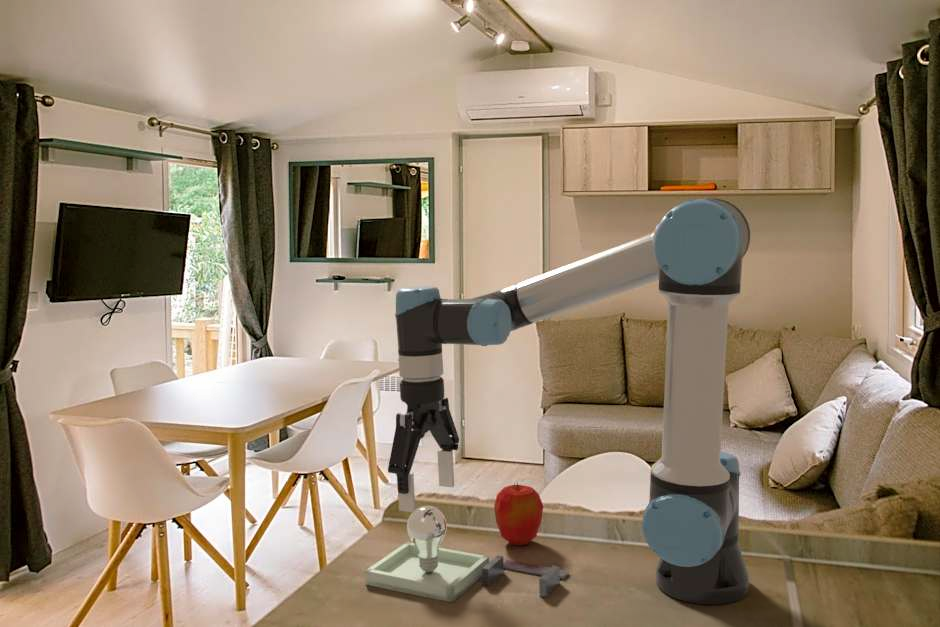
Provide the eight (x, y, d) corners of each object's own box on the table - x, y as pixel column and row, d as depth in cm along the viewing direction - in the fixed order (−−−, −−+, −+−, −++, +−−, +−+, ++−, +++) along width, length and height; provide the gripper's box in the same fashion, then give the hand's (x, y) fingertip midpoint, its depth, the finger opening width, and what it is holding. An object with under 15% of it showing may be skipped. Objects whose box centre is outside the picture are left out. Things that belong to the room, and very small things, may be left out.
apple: (495, 553, 165) (494, 491, 163) (493, 534, 174) (492, 475, 172) (545, 551, 165) (544, 489, 164) (541, 533, 174) (540, 474, 172)
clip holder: (568, 574, 155) (568, 557, 155) (546, 597, 146) (546, 580, 146) (506, 562, 160) (506, 547, 160) (481, 584, 152) (481, 568, 151)
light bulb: (443, 581, 151) (440, 514, 150) (404, 580, 153) (401, 513, 151) (452, 565, 158) (449, 500, 156) (414, 563, 159) (411, 499, 158)
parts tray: (489, 570, 158) (489, 556, 157) (451, 602, 145) (451, 588, 145) (407, 554, 165) (407, 541, 165) (365, 584, 153) (365, 570, 153)
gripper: (438, 363, 163) (443, 474, 166) (361, 391, 141) (369, 519, 144) (474, 365, 160) (479, 479, 163) (401, 394, 138) (408, 525, 141)
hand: (427, 498), depth 153 cm, fingers open, 13 cm apart
